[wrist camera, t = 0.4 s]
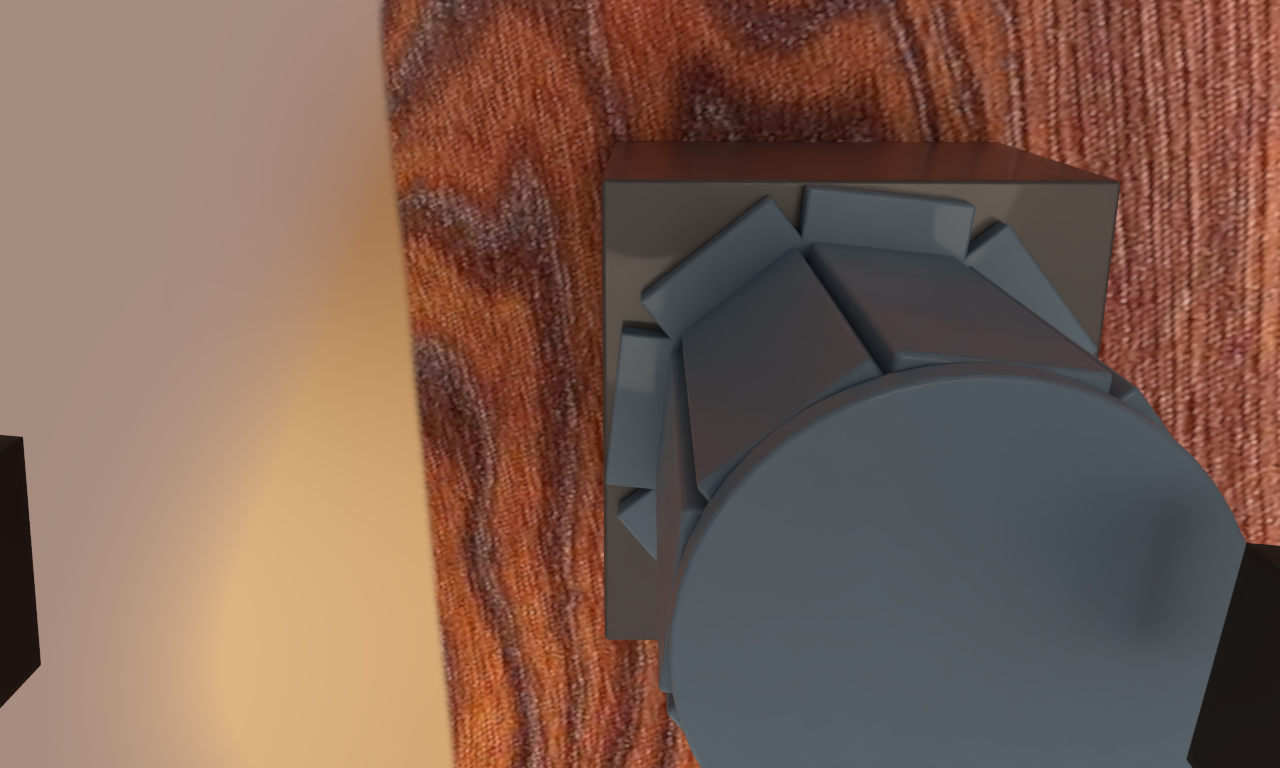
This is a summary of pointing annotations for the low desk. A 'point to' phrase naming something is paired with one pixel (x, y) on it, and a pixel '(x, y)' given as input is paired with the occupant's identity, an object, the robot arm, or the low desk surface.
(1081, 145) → the low desk surface
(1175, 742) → the hat
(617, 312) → the riser
